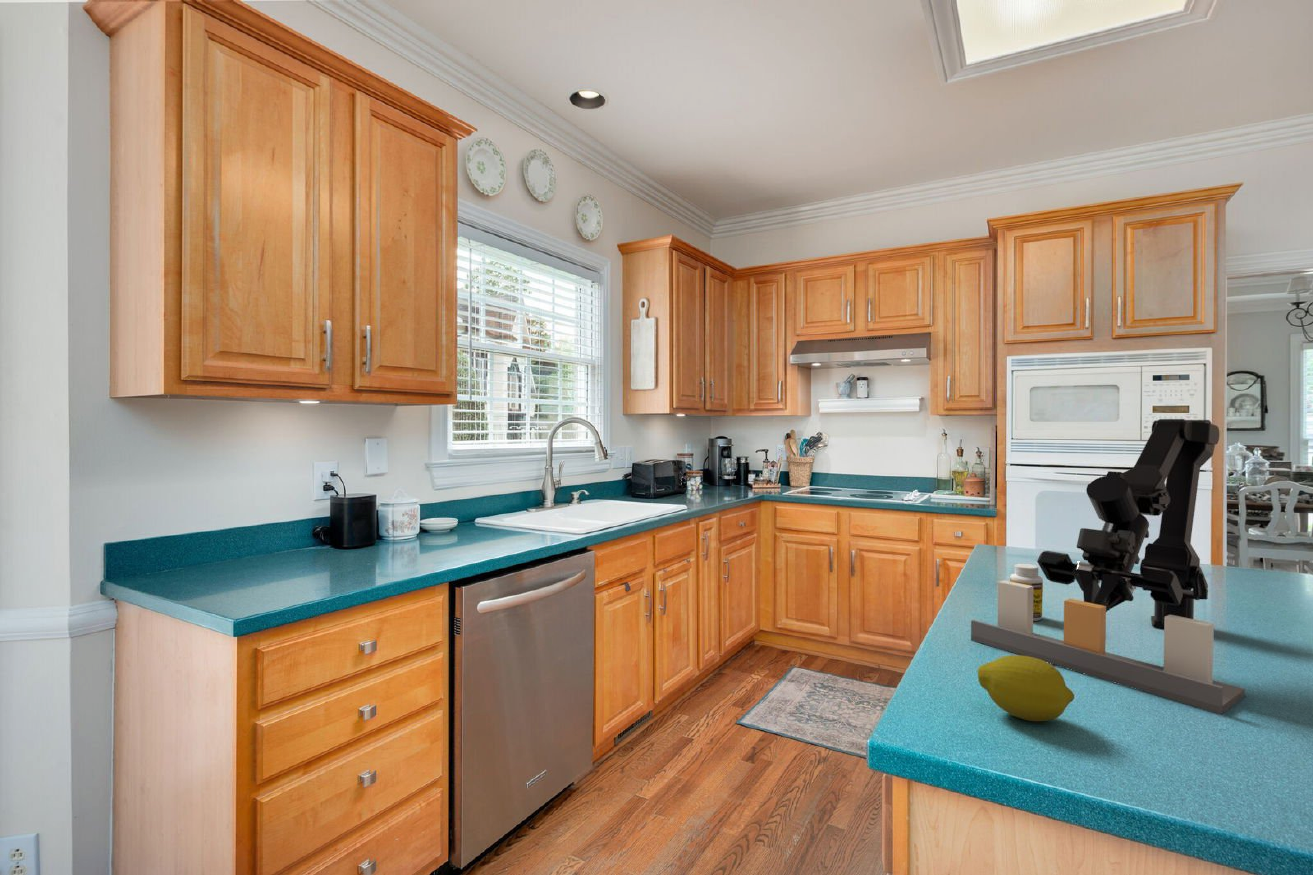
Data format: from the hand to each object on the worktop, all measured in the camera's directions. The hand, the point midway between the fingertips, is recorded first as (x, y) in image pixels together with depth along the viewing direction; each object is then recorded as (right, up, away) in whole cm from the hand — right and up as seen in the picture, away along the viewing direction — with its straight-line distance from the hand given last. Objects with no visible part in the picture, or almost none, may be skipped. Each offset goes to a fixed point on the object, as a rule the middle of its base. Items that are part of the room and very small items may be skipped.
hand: (1088, 619), depth 99 cm
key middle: (-1, -6, 0) cm, 6 cm away
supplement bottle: (+5, -7, +25) cm, 27 cm away
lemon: (-20, -8, -16) cm, 27 cm away
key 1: (-5, -6, +11) cm, 14 cm away
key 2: (+8, -7, -9) cm, 14 cm away
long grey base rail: (+1, -8, +1) cm, 8 cm away
